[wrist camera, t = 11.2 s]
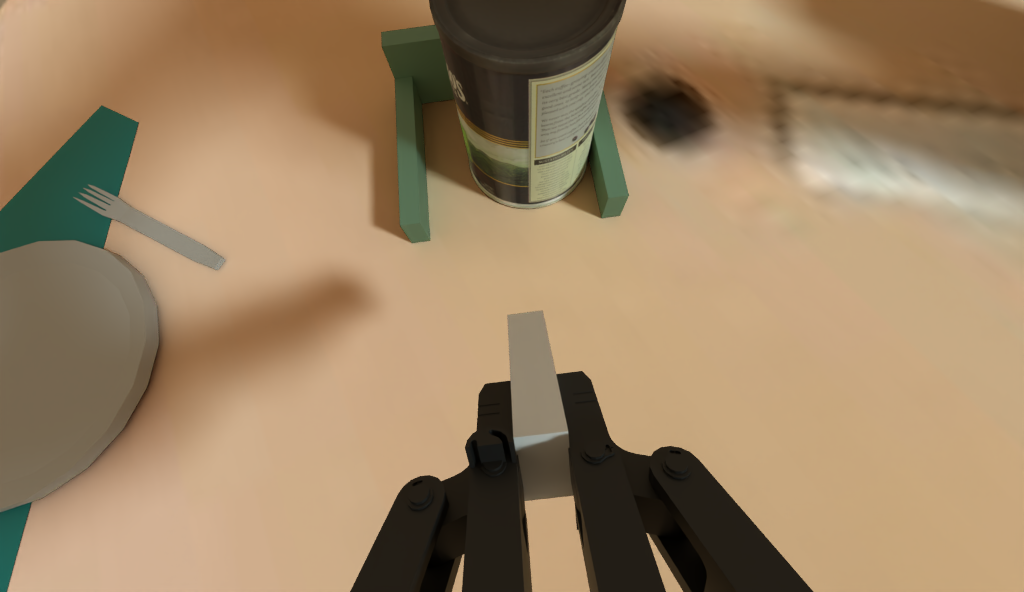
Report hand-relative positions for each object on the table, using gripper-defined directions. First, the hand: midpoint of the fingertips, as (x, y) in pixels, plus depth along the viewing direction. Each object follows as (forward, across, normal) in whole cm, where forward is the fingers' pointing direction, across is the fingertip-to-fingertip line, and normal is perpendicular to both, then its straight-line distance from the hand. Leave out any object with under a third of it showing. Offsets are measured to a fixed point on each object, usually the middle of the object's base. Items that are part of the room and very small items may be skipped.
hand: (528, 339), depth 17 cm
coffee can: (+21, +2, +4) cm, 22 cm away
